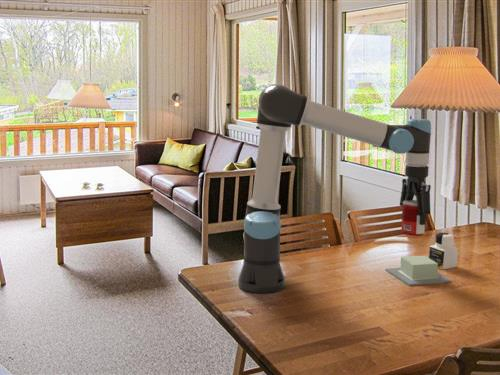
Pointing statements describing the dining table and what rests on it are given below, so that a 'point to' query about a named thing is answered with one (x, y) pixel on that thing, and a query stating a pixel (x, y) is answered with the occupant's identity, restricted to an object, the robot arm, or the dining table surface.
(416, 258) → the block
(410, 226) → the canned food
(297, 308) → the dining table surface
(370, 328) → the dining table surface
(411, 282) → the plate
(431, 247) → the medicine bottle
